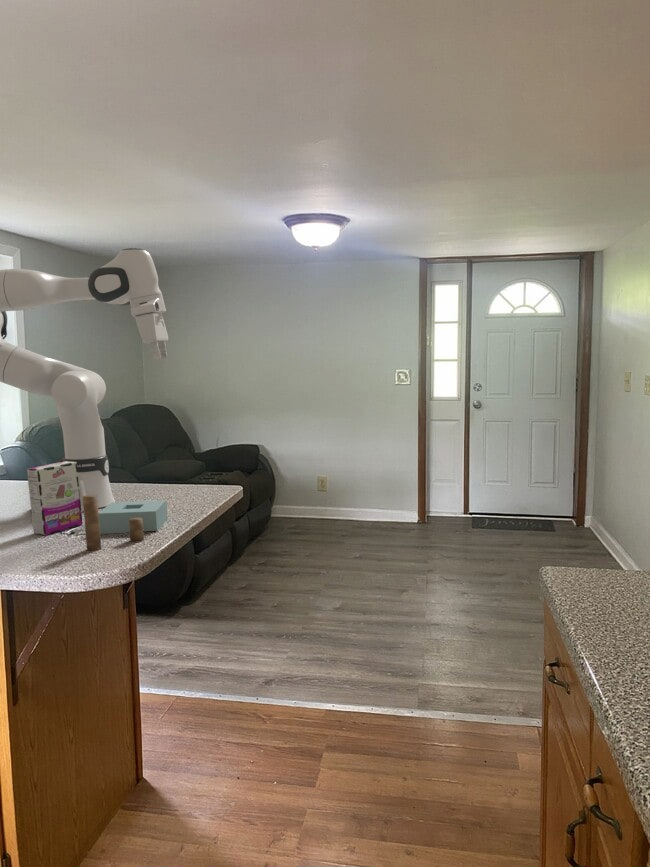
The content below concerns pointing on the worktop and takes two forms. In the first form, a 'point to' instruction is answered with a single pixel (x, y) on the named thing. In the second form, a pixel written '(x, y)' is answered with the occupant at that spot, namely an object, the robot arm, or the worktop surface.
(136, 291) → the robot arm
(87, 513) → the long dowel
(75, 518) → the candy bar box
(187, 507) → the worktop surface
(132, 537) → the short dowel
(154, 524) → the hole block
